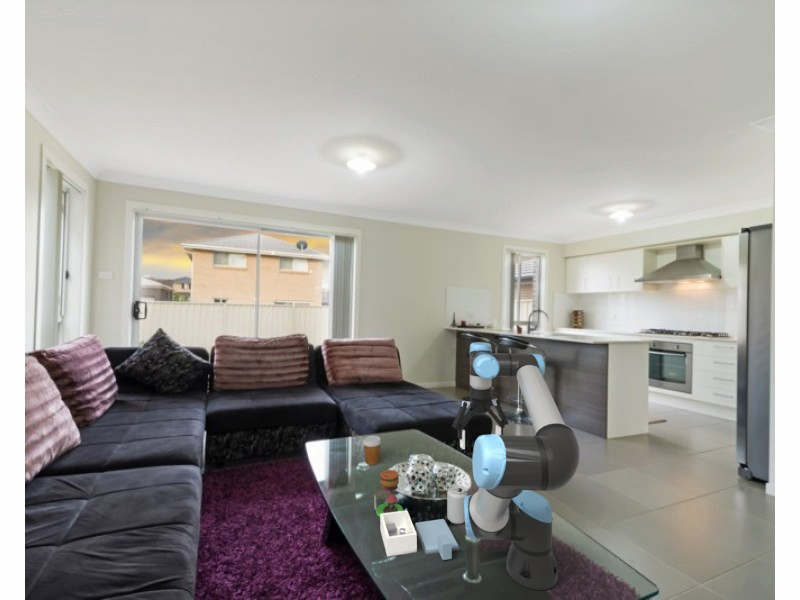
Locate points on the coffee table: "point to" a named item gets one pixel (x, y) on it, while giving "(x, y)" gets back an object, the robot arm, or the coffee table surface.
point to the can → (456, 504)
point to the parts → (394, 530)
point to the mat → (434, 551)
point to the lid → (437, 537)
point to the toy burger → (387, 492)
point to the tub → (398, 533)
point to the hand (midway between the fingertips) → (480, 446)
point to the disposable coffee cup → (372, 449)
